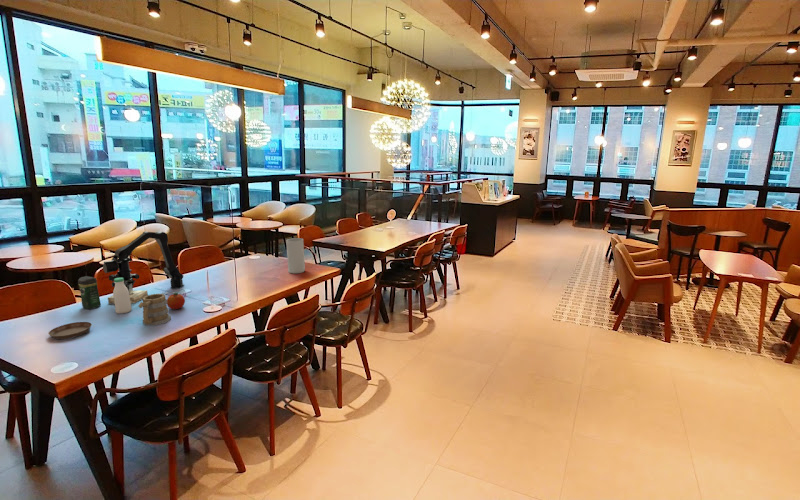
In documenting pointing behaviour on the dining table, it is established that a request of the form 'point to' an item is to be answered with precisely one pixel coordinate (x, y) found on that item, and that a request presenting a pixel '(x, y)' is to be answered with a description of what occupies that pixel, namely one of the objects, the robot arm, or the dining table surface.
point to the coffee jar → (89, 292)
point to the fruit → (175, 301)
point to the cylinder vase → (295, 255)
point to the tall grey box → (130, 289)
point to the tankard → (155, 309)
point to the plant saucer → (70, 330)
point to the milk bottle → (121, 297)
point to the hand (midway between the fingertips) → (127, 293)
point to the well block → (132, 296)
